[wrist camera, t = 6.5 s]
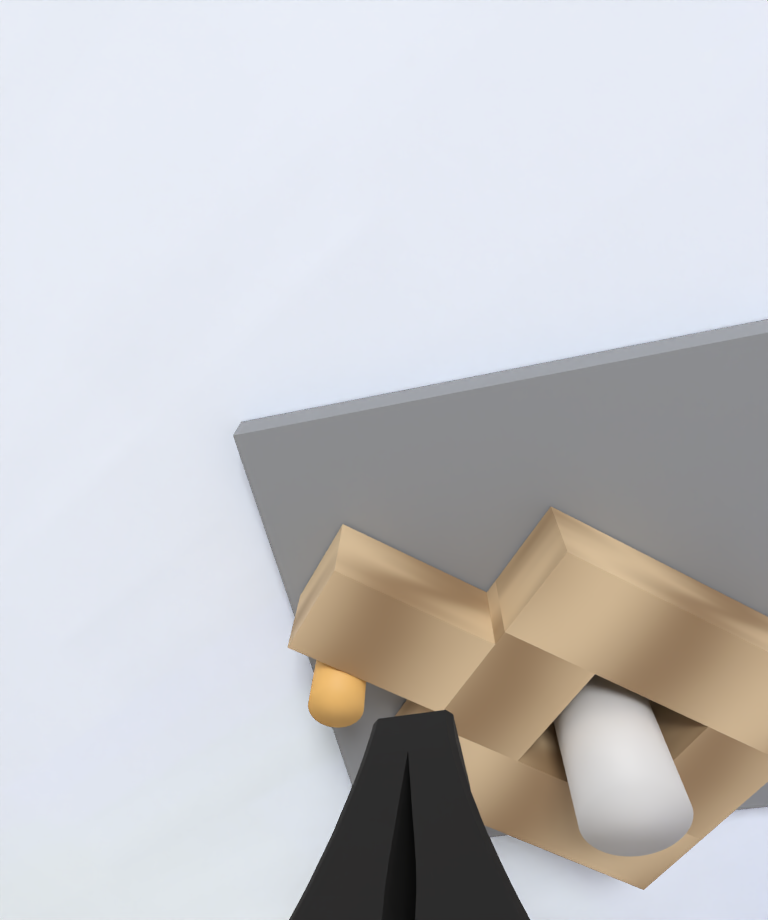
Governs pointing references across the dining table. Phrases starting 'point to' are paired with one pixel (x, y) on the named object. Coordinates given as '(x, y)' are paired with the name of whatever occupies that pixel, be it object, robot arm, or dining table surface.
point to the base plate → (523, 506)
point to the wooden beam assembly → (553, 670)
